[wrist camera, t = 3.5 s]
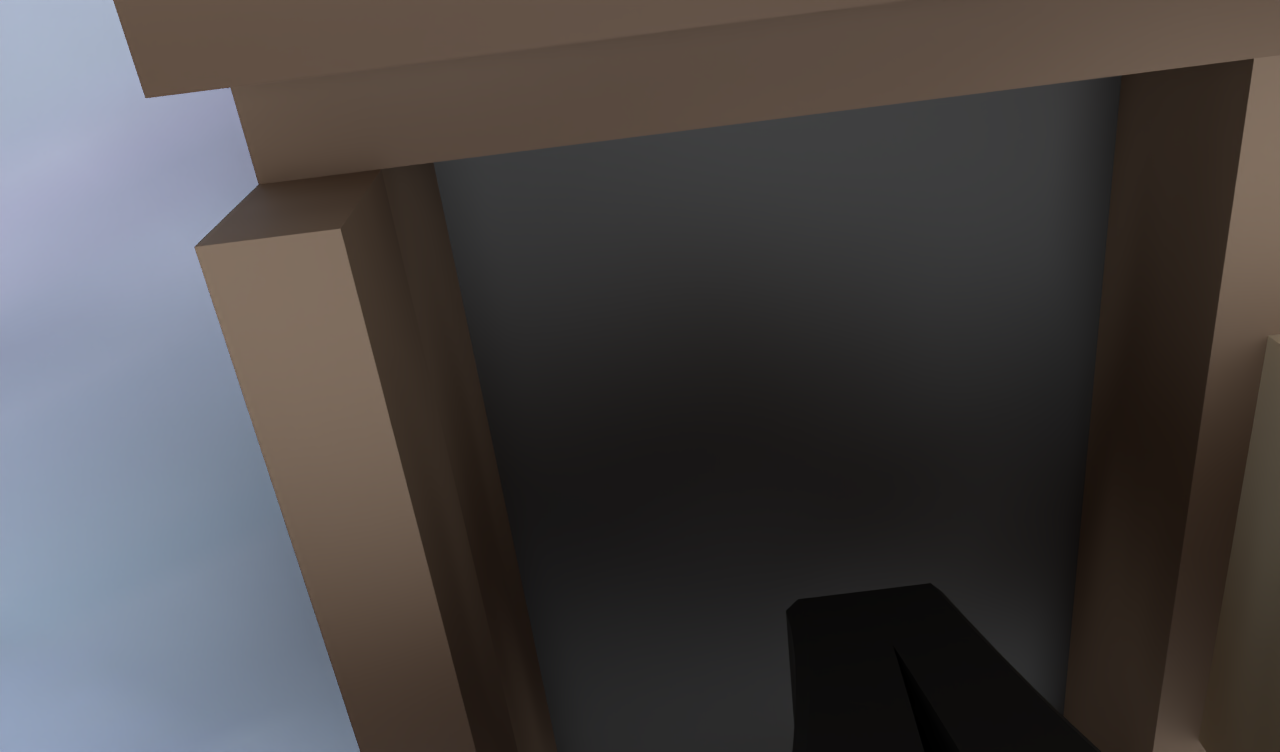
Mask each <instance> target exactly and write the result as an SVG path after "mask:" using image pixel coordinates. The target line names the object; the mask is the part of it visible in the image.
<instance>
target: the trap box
mask: <svg viewBox="0 0 1280 752" xmlns="http://www.w3.org/2000/svg"><path fill="white" fill-rule="evenodd" d="M113 1H114V4H115V7H116V10H117V13H118V16H119V19H120V22H121V25H122V28H123V31H124V34H125V37H126V40H127V43H128V46H129V49H130V53H131V56H132V59H133V62H134V65H135V68H136V71H137V74H138V77H139V80H140V83H141V86H142V89H143V92H144V95H145V98H151V97H159V96H166V95H174V94H182V93H190V92H198V91H205V90H213V89H221V88H229V87H231V91H232V94H233V97H234V101H235V104H236V108H237V111H238V115H239V118H240V121H241V125H242V128H243V132H244V135H245V139H246V142H247V146H248V149H249V152H250V156H251V159H252V163H253V166H254V170H255V173H256V177H257V180H258V183H259V185H258V186H257V187H256V188H255V189H254V190H253V191H252V192H251V193H250V194H249V195H248V196H246V197H245V198H244V199H243V200H242V201H241V202H240V203H239V204H238V205H237V206H236V207H235V208H234V209H233V210H232V211H231V212H230V213H229V214H228V215H227V216H226V217H225V218H224V219H223V220H222V221H221V222H220V223H219V224H218V225H217V226H216V227H215V228H214V229H212V230H211V231H210V232H209V233H208V234H207V235H206V236H205V237H204V238H203V239H202V240H201V241H200V242H199V243H198V244H197V245H196V246H195V250H196V253H197V256H198V259H199V262H200V265H201V268H202V272H203V275H204V278H205V281H206V284H207V287H208V290H209V293H210V296H211V299H212V302H213V305H214V308H215V311H216V314H217V317H218V320H219V323H220V326H221V329H222V332H223V335H224V338H225V341H226V345H227V348H228V351H229V354H230V357H231V360H232V363H233V366H234V369H235V372H236V375H237V378H238V381H239V384H240V387H241V390H242V393H243V396H244V399H245V402H246V405H247V408H248V411H249V414H250V418H251V421H252V424H253V427H254V430H255V433H256V436H257V439H258V442H259V445H260V448H261V451H262V454H263V457H264V460H265V463H266V466H267V469H268V472H269V475H270V478H271V481H272V484H273V487H274V491H275V494H276V497H277V500H278V503H279V506H280V509H281V512H282V515H283V518H284V521H285V524H286V527H287V530H288V533H289V536H290V539H291V542H292V545H293V548H294V551H295V554H296V557H297V560H298V564H299V567H300V570H301V573H302V576H303V579H304V582H305V585H306V588H307V591H308V594H309V597H310V600H311V603H312V606H313V609H314V612H315V615H316V618H317V621H318V624H319V627H320V630H321V633H322V637H323V640H324V643H325V646H326V649H327V652H328V655H329V658H330V661H331V664H332V667H333V670H334V673H335V676H336V679H337V682H338V685H339V688H340V691H341V694H342V697H343V700H344V703H345V706H346V710H347V713H348V716H349V719H350V722H351V725H352V728H353V731H354V734H355V737H356V740H357V743H358V746H359V749H360V752H792V750H793V738H794V717H793V703H792V689H791V675H790V662H789V648H788V634H787V620H786V610H787V609H788V608H789V607H790V606H791V605H792V604H793V603H794V602H795V601H796V600H797V599H803V598H812V597H820V596H828V595H836V594H845V593H853V592H861V591H869V590H878V589H886V588H894V587H902V586H911V585H919V584H927V583H932V584H933V585H934V586H935V587H937V588H938V589H939V590H940V591H942V592H943V593H944V594H945V595H946V596H947V597H948V599H949V600H950V601H951V602H952V603H953V604H954V605H955V606H956V607H957V608H958V609H959V611H960V612H961V613H962V614H963V615H964V616H965V617H966V618H967V619H968V620H969V621H970V622H971V623H972V624H973V626H974V627H975V628H976V629H977V630H978V631H979V632H980V633H981V634H982V635H983V636H984V637H985V638H986V639H987V640H988V641H989V642H990V643H991V644H992V646H993V647H994V648H995V649H996V650H997V651H998V652H999V653H1000V654H1001V655H1002V656H1003V657H1004V658H1005V659H1006V660H1007V661H1008V662H1009V663H1010V664H1011V665H1012V666H1013V667H1014V668H1015V669H1016V670H1017V671H1018V672H1019V673H1020V674H1021V675H1022V676H1023V677H1024V678H1025V679H1026V680H1027V681H1028V682H1029V683H1030V684H1031V685H1032V686H1033V687H1034V688H1035V689H1036V690H1037V691H1038V692H1039V693H1040V694H1041V695H1042V696H1043V697H1044V698H1045V699H1046V700H1047V701H1048V702H1049V703H1050V704H1051V705H1052V706H1053V707H1054V708H1055V709H1056V710H1057V711H1058V712H1059V713H1061V714H1062V715H1063V716H1064V717H1065V718H1066V719H1067V720H1068V721H1069V722H1070V723H1071V724H1072V725H1073V726H1074V727H1076V728H1077V729H1078V730H1079V731H1080V732H1081V733H1082V734H1083V735H1084V736H1085V737H1086V738H1087V739H1088V740H1089V741H1091V742H1092V743H1093V744H1094V745H1095V746H1096V747H1097V748H1098V749H1099V750H1100V751H1101V752H1206V751H1205V749H1204V748H1203V746H1202V745H1201V743H1200V742H1199V734H1200V729H1201V723H1202V717H1203V711H1204V705H1205V700H1206V694H1207V688H1208V682H1209V676H1210V671H1211V665H1212V659H1213V653H1214V647H1215V642H1216V636H1217V630H1218V624H1219V619H1220V613H1221V607H1222V601H1223V595H1224V590H1225V584H1226V578H1227V572H1228V566H1229V561H1230V555H1231V549H1232V543H1233V537H1234V532H1235V526H1236V520H1237V514H1238V508H1239V503H1240V497H1241V491H1242V485H1243V480H1244V474H1245V468H1246V462H1247V456H1248V451H1249V445H1250V439H1251V433H1252V427H1253V422H1254V416H1255V410H1256V404H1257V398H1258V393H1259V387H1260V381H1261V375H1262V369H1263V364H1264V358H1265V352H1266V346H1267V340H1268V336H1271V335H1279V334H1280V0H113Z"/></svg>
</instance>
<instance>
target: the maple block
mask: <svg viewBox="0 0 1280 752" xmlns="http://www.w3.org/2000/svg"><path fill="white" fill-rule="evenodd" d="M1199 742H1200V743H1201V745H1202V746H1203V748H1204V749H1205V751H1206V752H1280V334H1279V335H1271V336H1268V340H1267V346H1266V352H1265V358H1264V364H1263V369H1262V375H1261V381H1260V387H1259V393H1258V398H1257V404H1256V410H1255V416H1254V422H1253V427H1252V433H1251V439H1250V445H1249V451H1248V456H1247V462H1246V468H1245V474H1244V480H1243V485H1242V491H1241V497H1240V503H1239V508H1238V514H1237V520H1236V526H1235V532H1234V537H1233V543H1232V549H1231V555H1230V561H1229V566H1228V572H1227V578H1226V584H1225V590H1224V595H1223V601H1222V607H1221V613H1220V619H1219V624H1218V630H1217V636H1216V642H1215V647H1214V653H1213V659H1212V665H1211V671H1210V676H1209V682H1208V688H1207V694H1206V700H1205V705H1204V711H1203V717H1202V723H1201V729H1200V734H1199Z"/></svg>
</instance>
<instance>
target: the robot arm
mask: <svg viewBox="0 0 1280 752" xmlns="http://www.w3.org/2000/svg"><path fill="white" fill-rule="evenodd" d="M786 620H787V634H788V648H789V662H790V675H791V689H792V703H793V717H794V738H793V750H792V752H1101V751H1100V750H1099V749H1098V748H1097V747H1096V746H1095V745H1094V744H1093V743H1092V742H1091V741H1089V740H1088V739H1087V738H1086V737H1085V736H1084V735H1083V734H1082V733H1081V732H1080V731H1079V730H1078V729H1077V728H1076V727H1074V726H1073V725H1072V724H1071V723H1070V722H1069V721H1068V720H1067V719H1066V718H1065V717H1064V716H1063V715H1062V714H1061V713H1059V712H1058V711H1057V710H1056V709H1055V708H1054V707H1053V706H1052V705H1051V704H1050V703H1049V702H1048V701H1047V700H1046V699H1045V698H1044V697H1043V696H1042V695H1041V694H1040V693H1039V692H1038V691H1037V690H1036V689H1035V688H1034V687H1033V686H1032V685H1031V684H1030V683H1029V682H1028V681H1027V680H1026V679H1025V678H1024V677H1023V676H1022V675H1021V674H1020V673H1019V672H1018V671H1017V670H1016V669H1015V668H1014V667H1013V666H1012V665H1011V664H1010V663H1009V662H1008V661H1007V660H1006V659H1005V658H1004V657H1003V656H1002V655H1001V654H1000V653H999V652H998V651H997V650H996V649H995V648H994V647H993V646H992V644H991V643H990V642H989V641H988V640H987V639H986V638H985V637H984V636H983V635H982V634H981V633H980V632H979V631H978V630H977V629H976V628H975V627H974V626H973V624H972V623H971V622H970V621H969V620H968V619H967V618H966V617H965V616H964V615H963V614H962V613H961V612H960V611H959V609H958V608H957V607H956V606H955V605H954V604H953V603H952V602H951V601H950V600H949V599H948V597H947V596H946V595H945V594H944V593H943V592H942V591H940V590H939V589H938V588H937V587H935V586H934V585H933V584H932V583H927V584H919V585H911V586H902V587H894V588H886V589H878V590H869V591H861V592H853V593H845V594H836V595H828V596H820V597H812V598H803V599H797V600H796V601H795V602H794V603H793V604H792V605H791V606H790V607H789V608H788V609H787V610H786Z"/></svg>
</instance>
